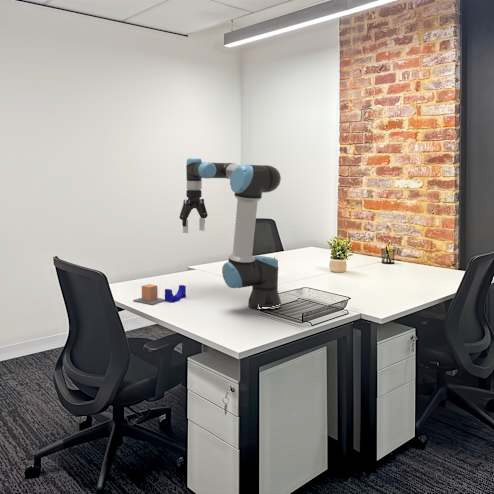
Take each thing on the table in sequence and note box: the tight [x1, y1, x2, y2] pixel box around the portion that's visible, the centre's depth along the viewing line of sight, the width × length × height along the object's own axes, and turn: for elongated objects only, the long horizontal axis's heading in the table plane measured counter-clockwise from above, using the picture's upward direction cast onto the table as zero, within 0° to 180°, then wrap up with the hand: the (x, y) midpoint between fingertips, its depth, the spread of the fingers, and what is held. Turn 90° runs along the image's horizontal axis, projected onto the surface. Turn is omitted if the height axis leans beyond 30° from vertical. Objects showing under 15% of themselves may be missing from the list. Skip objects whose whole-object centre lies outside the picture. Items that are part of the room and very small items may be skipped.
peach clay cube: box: [141, 283, 159, 302], centre depth 248 cm, size 5×5×7 cm
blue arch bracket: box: [164, 284, 187, 304], centre depth 251 cm, size 12×4×6 cm, turn 148°
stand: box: [132, 297, 165, 306], centre depth 248 cm, size 12×10×6 cm
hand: (193, 231), depth 266 cm, fingers open, 13 cm apart
